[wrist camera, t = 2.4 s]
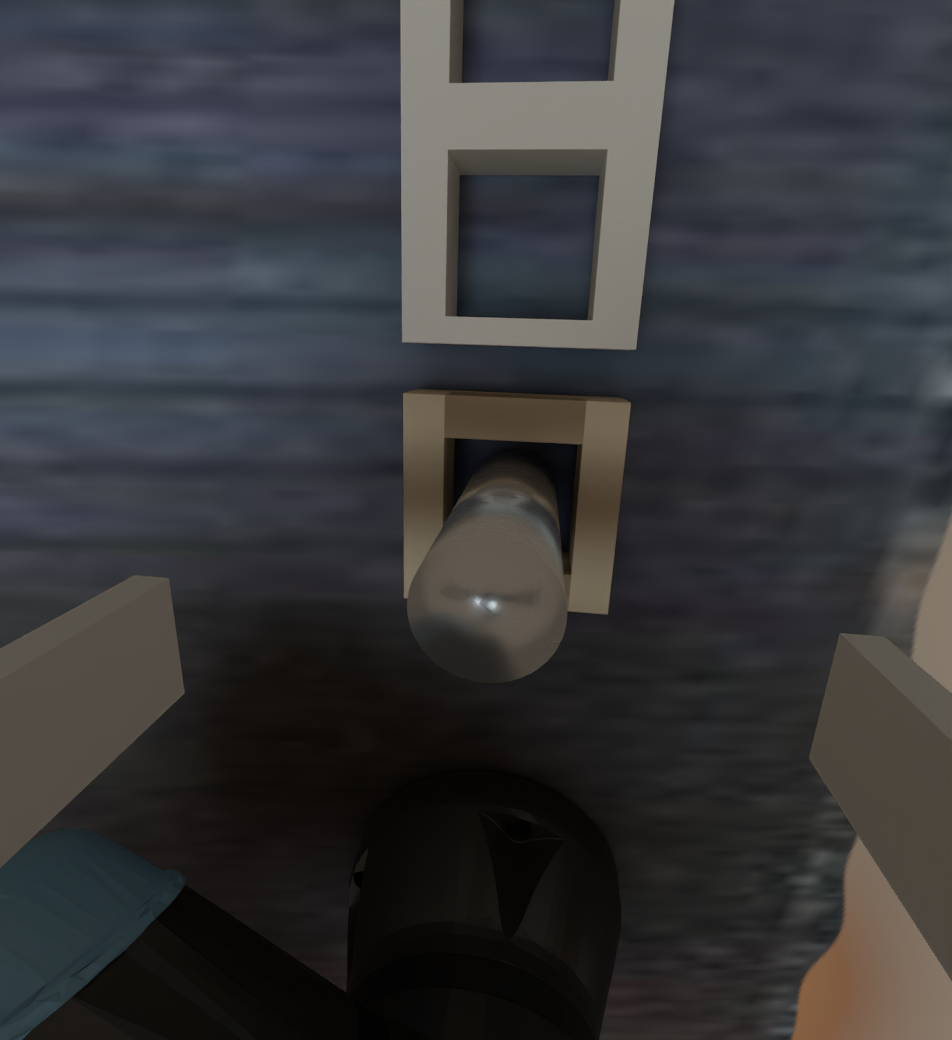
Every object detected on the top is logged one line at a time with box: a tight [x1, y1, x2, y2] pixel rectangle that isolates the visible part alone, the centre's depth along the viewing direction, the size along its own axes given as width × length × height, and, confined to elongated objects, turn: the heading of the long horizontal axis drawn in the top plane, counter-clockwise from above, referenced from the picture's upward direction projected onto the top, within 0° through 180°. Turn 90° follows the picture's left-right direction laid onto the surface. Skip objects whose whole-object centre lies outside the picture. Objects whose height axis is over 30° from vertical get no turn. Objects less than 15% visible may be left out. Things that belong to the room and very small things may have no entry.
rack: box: [401, 0, 674, 350], centre depth 21 cm, size 15×9×3 cm, turn 178°
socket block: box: [403, 389, 631, 614], centre depth 25 cm, size 9×9×3 cm
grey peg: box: [407, 449, 567, 683], centre depth 20 cm, size 4×4×13 cm
